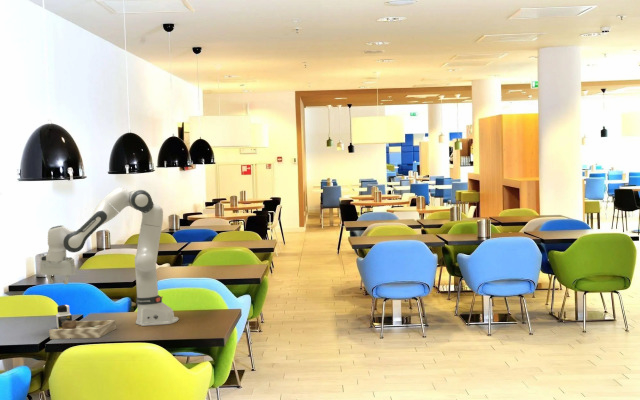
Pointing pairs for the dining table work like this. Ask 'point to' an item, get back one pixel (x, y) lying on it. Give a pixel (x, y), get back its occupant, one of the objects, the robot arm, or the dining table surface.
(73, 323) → the walnut block
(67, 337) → the woven tray
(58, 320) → the medicine bottle
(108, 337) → the dining table surface
